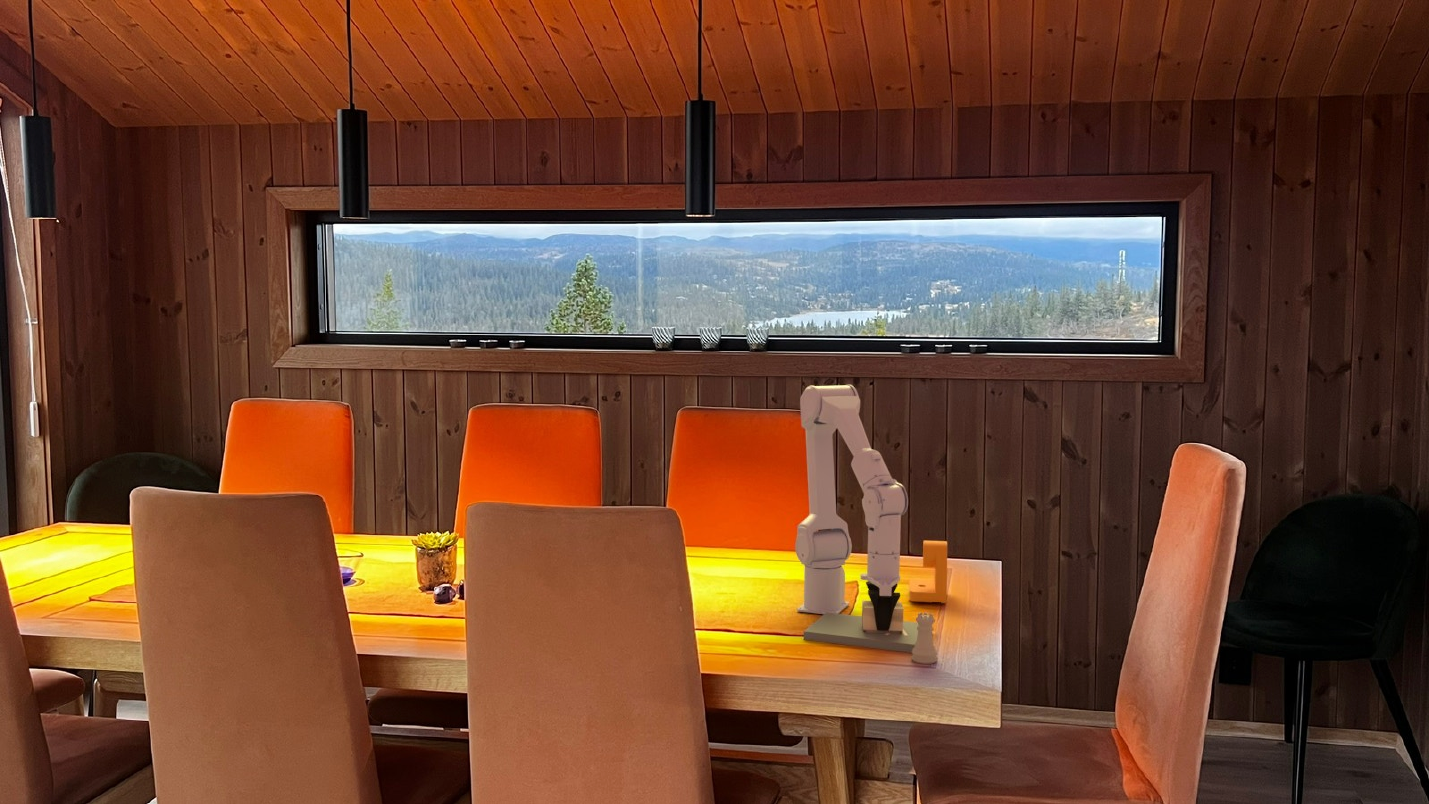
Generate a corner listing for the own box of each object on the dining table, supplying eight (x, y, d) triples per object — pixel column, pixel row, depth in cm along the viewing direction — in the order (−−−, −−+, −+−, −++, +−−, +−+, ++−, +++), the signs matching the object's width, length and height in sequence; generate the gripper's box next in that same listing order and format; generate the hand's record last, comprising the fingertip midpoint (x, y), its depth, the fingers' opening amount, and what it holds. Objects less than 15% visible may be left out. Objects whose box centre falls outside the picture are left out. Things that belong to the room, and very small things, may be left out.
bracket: (909, 591, 253) (910, 534, 252) (944, 593, 252) (946, 536, 251) (909, 604, 242) (910, 545, 241) (946, 606, 241) (947, 547, 240)
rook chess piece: (934, 666, 203) (936, 619, 202) (908, 662, 204) (909, 616, 204) (940, 658, 207) (941, 612, 206) (914, 655, 208) (915, 609, 208)
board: (826, 620, 230) (826, 612, 230) (931, 632, 223) (931, 624, 222) (803, 639, 217) (803, 631, 217) (914, 653, 210) (914, 644, 210)
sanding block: (861, 624, 222) (862, 600, 221) (900, 625, 221) (901, 601, 221) (863, 632, 217) (863, 607, 216) (902, 633, 216) (903, 608, 216)
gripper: (859, 542, 225) (857, 614, 226) (863, 559, 211) (861, 636, 212) (897, 543, 224) (896, 615, 226) (904, 560, 210) (902, 637, 211)
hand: (881, 625), depth 219 cm, fingers closed on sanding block, 5 cm apart
